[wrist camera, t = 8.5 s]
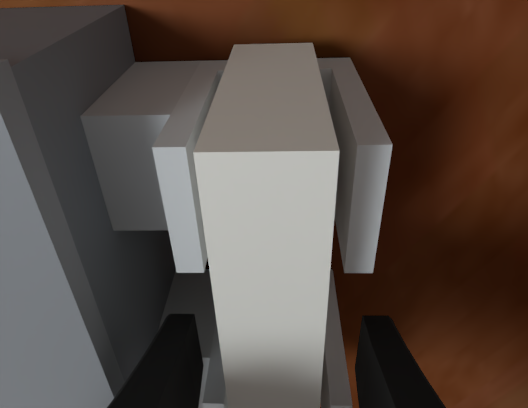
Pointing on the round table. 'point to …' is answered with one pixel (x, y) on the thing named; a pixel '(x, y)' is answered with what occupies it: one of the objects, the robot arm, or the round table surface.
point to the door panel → (269, 222)
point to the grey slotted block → (132, 206)
